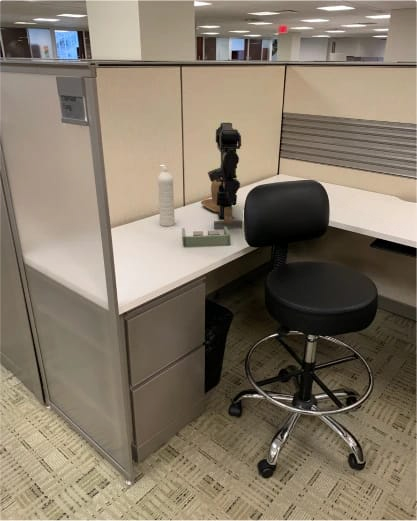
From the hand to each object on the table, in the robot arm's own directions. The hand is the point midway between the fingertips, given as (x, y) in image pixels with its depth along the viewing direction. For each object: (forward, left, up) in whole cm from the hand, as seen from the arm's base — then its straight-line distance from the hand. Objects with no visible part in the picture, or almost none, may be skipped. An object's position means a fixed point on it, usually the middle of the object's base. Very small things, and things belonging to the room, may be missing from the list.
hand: (228, 199), depth 171 cm
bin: (+14, -11, -12) cm, 22 cm away
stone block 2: (+15, -8, -13) cm, 21 cm away
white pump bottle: (-9, -26, -13) cm, 30 cm away
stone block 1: (+15, -14, -13) cm, 24 cm away
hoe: (0, 0, -13) cm, 13 cm away
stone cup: (-27, -1, -13) cm, 30 cm away
